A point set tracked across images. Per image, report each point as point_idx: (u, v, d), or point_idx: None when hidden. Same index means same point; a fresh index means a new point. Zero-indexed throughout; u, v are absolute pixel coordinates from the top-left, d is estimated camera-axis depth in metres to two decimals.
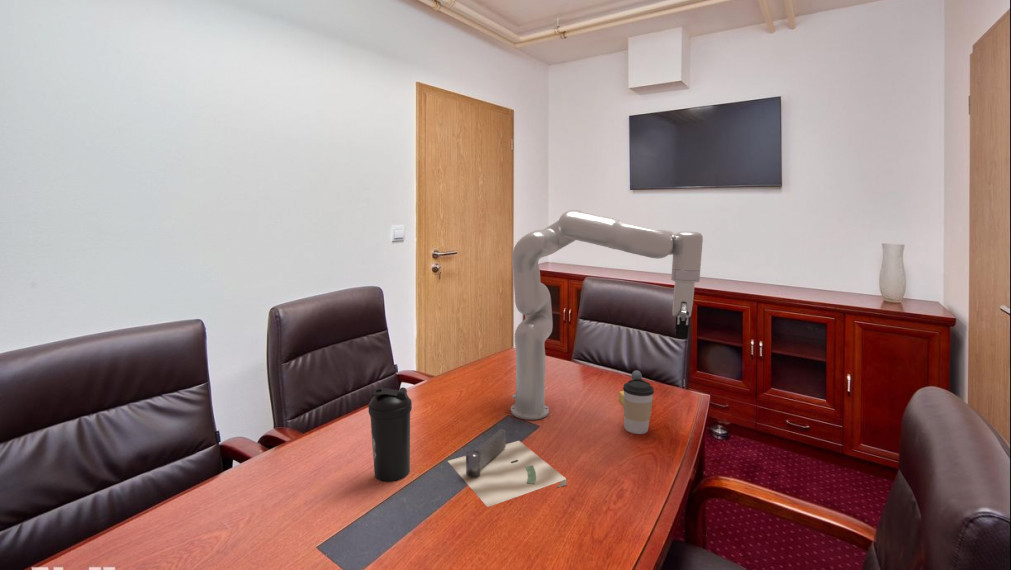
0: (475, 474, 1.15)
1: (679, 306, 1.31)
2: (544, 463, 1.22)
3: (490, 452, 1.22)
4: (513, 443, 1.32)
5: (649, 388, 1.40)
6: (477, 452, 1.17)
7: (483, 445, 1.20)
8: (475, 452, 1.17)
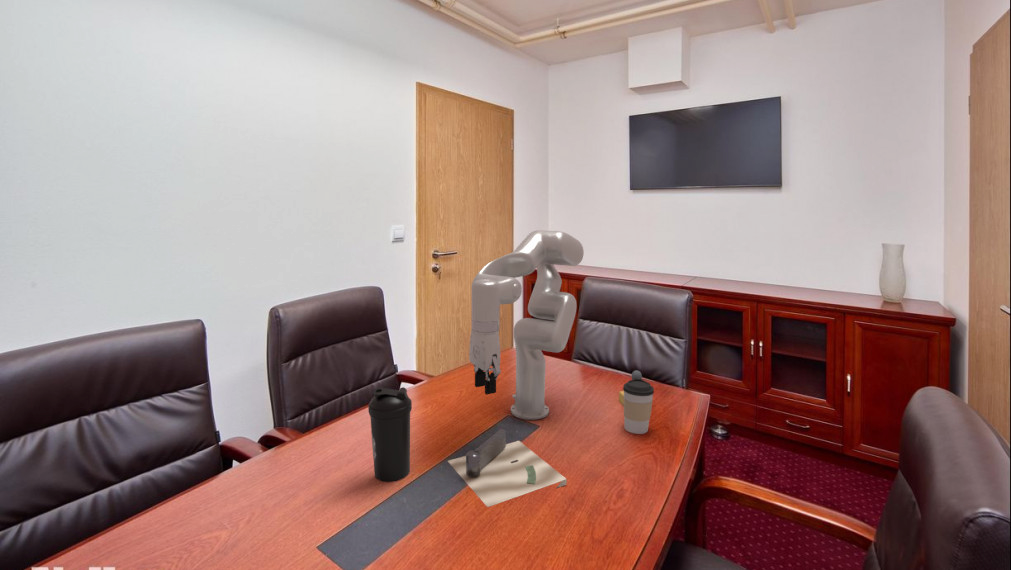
0: (475, 474, 1.15)
1: (490, 360, 1.23)
2: (544, 463, 1.22)
3: (490, 452, 1.22)
4: (513, 443, 1.32)
5: (649, 388, 1.40)
6: (477, 452, 1.17)
7: (483, 445, 1.20)
8: (475, 452, 1.17)
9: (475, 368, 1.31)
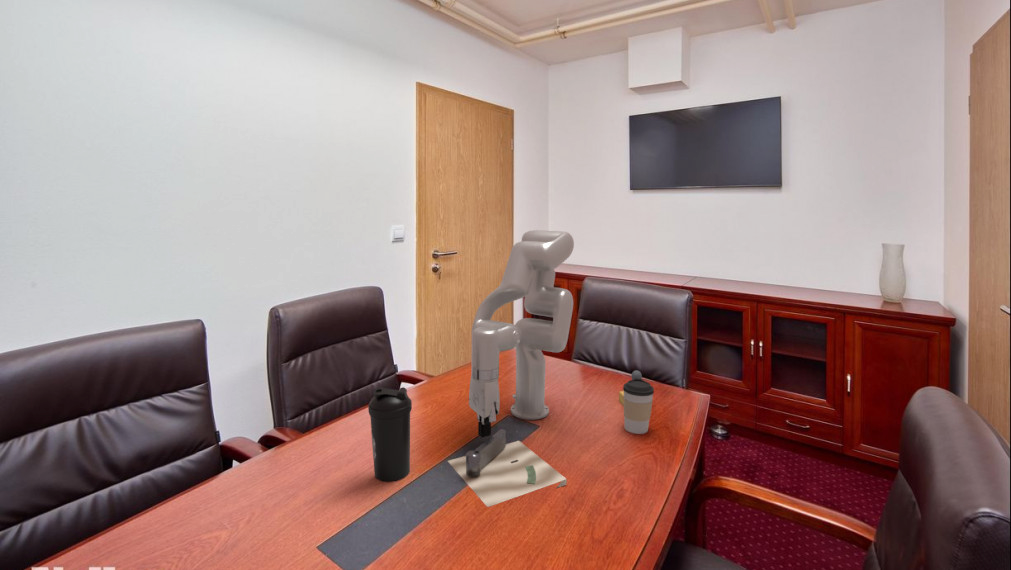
0: (475, 474, 1.15)
1: (490, 407, 1.25)
2: (544, 463, 1.22)
3: (490, 452, 1.22)
4: (513, 443, 1.32)
5: (649, 388, 1.40)
6: (477, 452, 1.17)
7: (483, 445, 1.20)
8: (475, 452, 1.17)
9: (478, 416, 1.31)
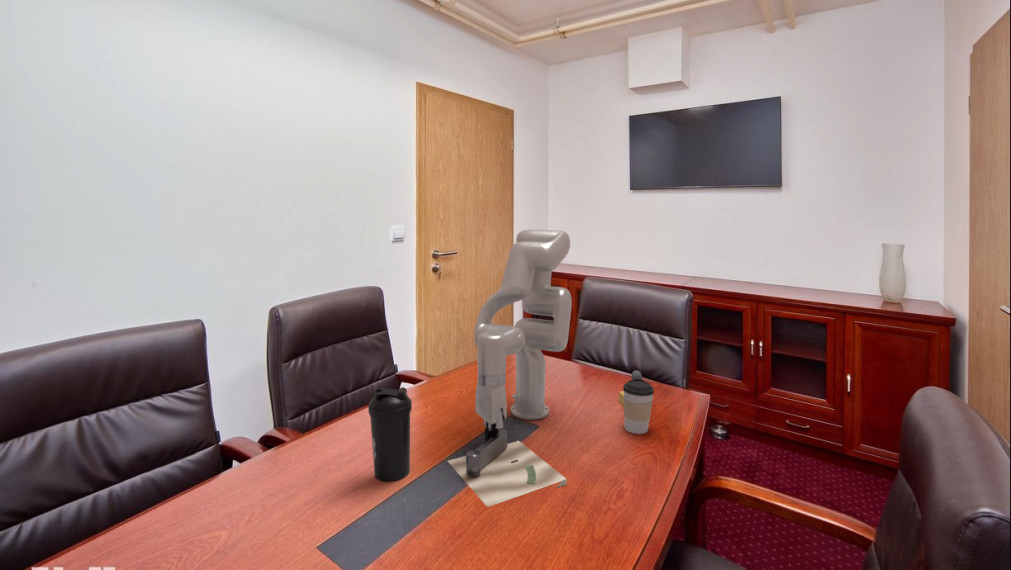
0: (475, 474, 1.15)
1: (497, 414, 1.23)
2: (544, 463, 1.22)
3: (491, 452, 1.22)
4: (513, 443, 1.32)
5: (649, 388, 1.40)
6: (477, 452, 1.17)
7: (484, 445, 1.20)
8: (475, 452, 1.17)
9: (485, 422, 1.29)
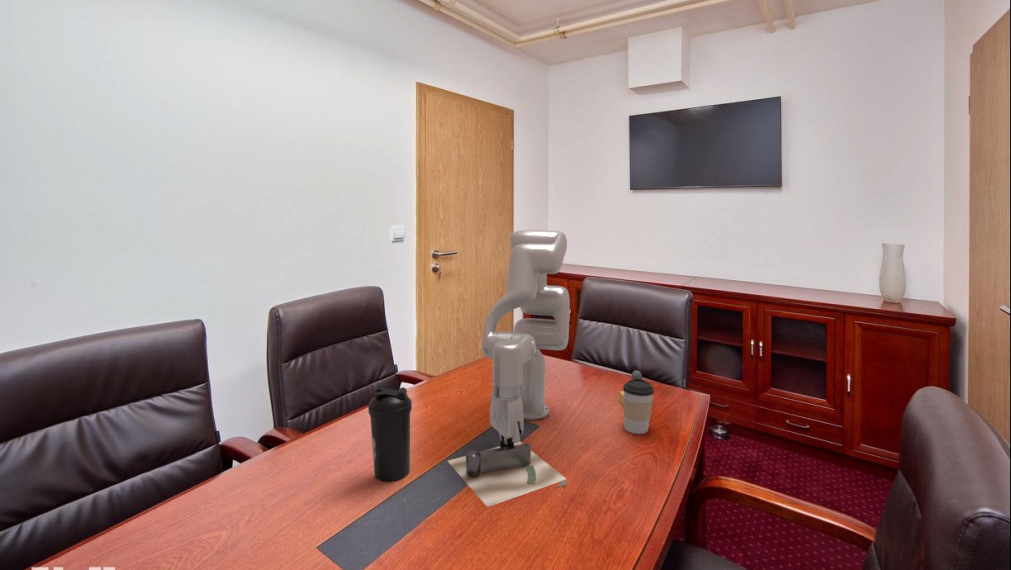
0: (470, 474, 1.15)
1: (513, 427, 1.16)
2: (544, 463, 1.22)
3: (501, 461, 1.18)
4: None
5: (649, 388, 1.40)
6: (478, 454, 1.16)
7: (491, 450, 1.18)
8: (476, 453, 1.16)
9: (500, 435, 1.22)
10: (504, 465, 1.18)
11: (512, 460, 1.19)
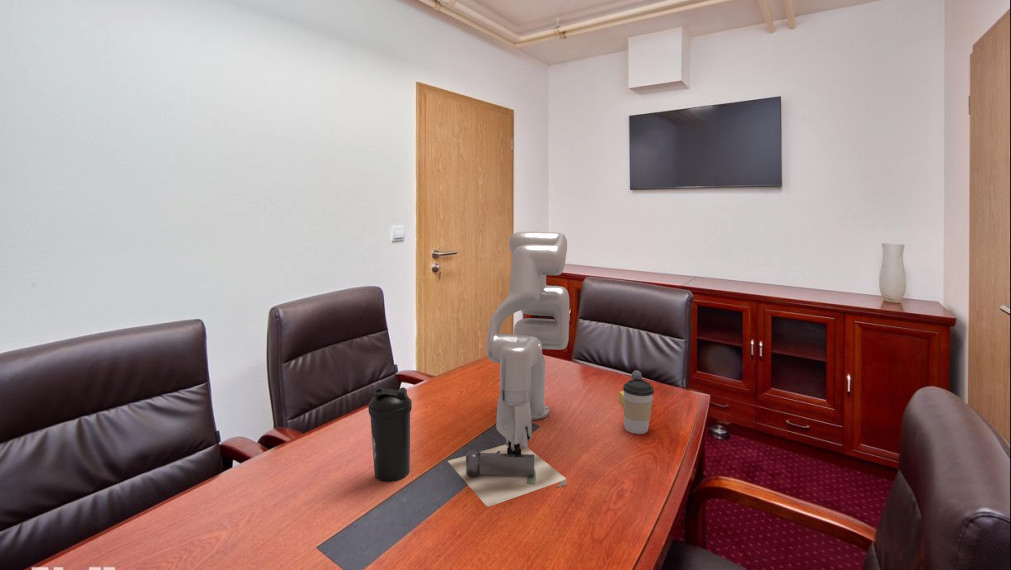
0: (468, 473, 1.15)
1: (521, 433, 1.13)
2: (544, 463, 1.22)
3: (502, 467, 1.15)
4: None
5: (649, 388, 1.40)
6: (477, 455, 1.15)
7: (492, 454, 1.16)
8: (476, 454, 1.16)
9: (507, 441, 1.19)
10: (505, 472, 1.15)
11: (513, 468, 1.15)
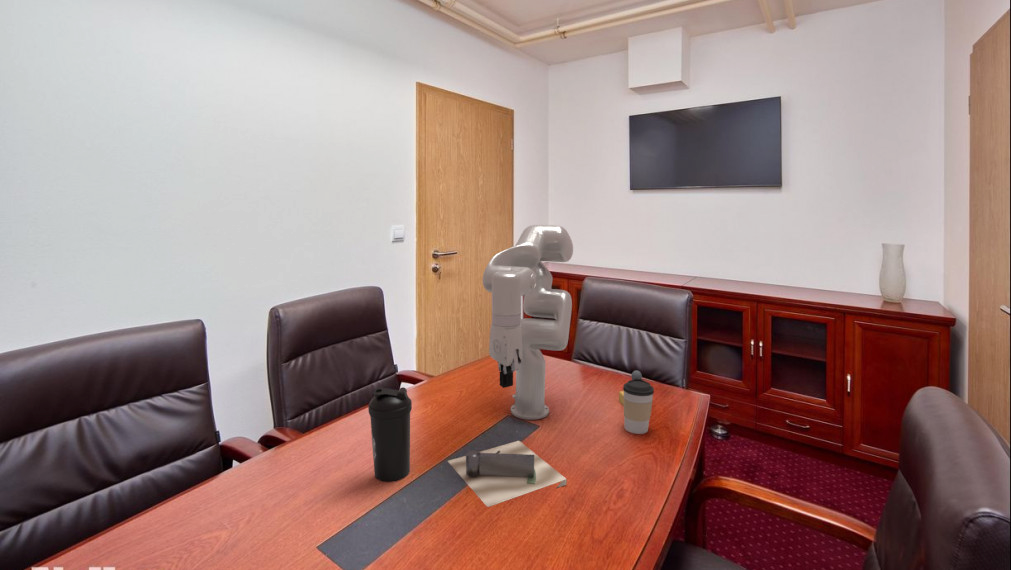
0: (468, 473, 1.15)
1: (512, 355, 1.18)
2: (544, 463, 1.22)
3: (502, 467, 1.15)
4: (513, 443, 1.32)
5: (649, 388, 1.40)
6: (477, 455, 1.15)
7: (492, 454, 1.16)
8: (476, 454, 1.16)
9: (499, 366, 1.25)
10: (505, 472, 1.15)
11: (513, 469, 1.15)
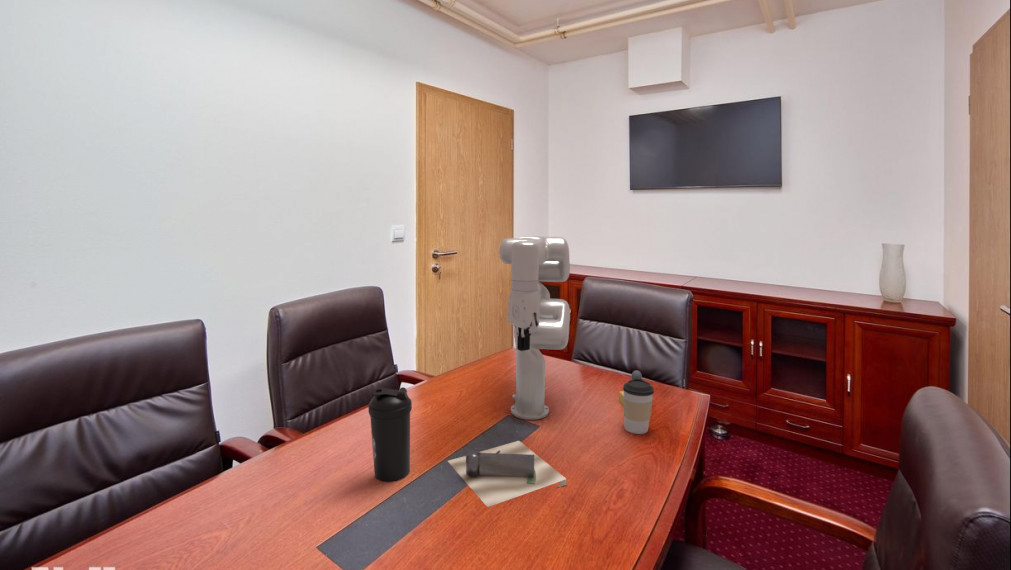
0: (468, 473, 1.15)
1: (530, 318, 1.27)
2: (544, 463, 1.22)
3: (502, 467, 1.15)
4: (513, 443, 1.32)
5: (649, 388, 1.40)
6: (477, 455, 1.15)
7: (492, 454, 1.16)
8: (476, 454, 1.16)
9: (517, 330, 1.33)
10: (505, 472, 1.15)
11: (513, 469, 1.15)
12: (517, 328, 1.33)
